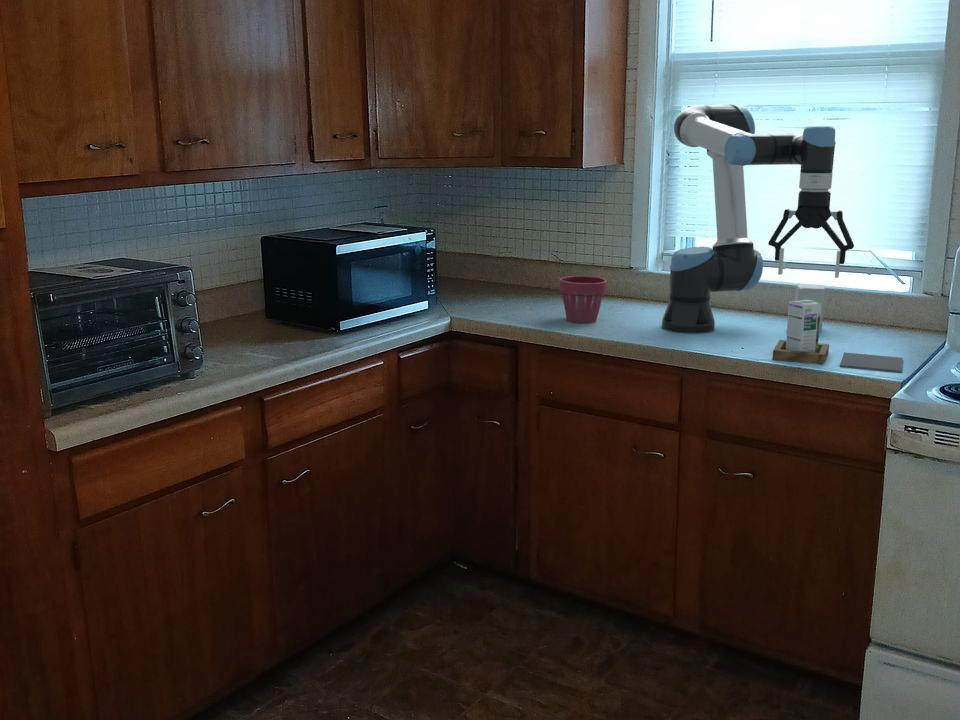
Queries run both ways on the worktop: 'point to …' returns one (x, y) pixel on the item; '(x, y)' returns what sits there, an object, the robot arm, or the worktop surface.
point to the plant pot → (582, 297)
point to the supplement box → (811, 296)
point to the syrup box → (803, 326)
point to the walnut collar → (800, 354)
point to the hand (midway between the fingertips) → (808, 275)
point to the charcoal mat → (871, 362)
